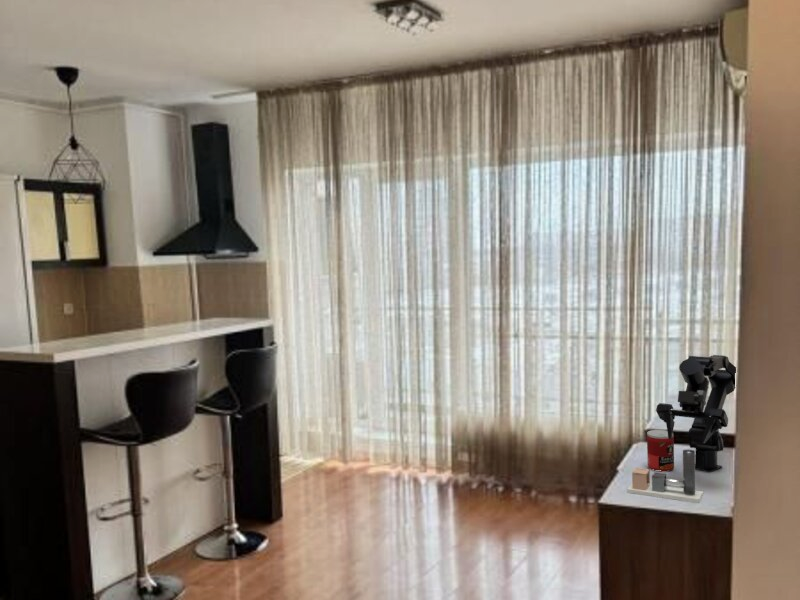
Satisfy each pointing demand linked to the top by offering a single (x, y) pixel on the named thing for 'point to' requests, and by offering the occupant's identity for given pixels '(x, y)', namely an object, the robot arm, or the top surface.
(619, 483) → the top surface
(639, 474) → the tan block
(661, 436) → the canned food
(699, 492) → the base board
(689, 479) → the slide bolt
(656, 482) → the sleeve
